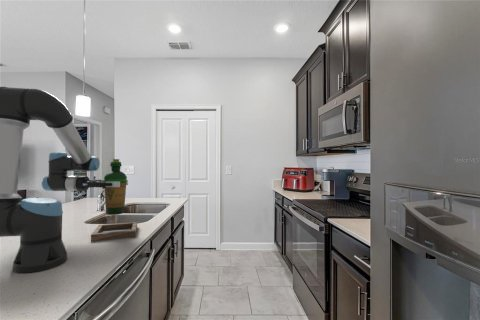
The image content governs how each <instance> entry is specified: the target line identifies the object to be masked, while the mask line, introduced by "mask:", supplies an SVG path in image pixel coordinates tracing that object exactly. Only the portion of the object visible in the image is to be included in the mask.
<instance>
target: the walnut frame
mask: <svg viewBox="0 0 480 320" xmlns="http://www.w3.org/2000/svg"><path fill="white" fill-rule="evenodd" d="M137 230H138V221H133V222H120V223H119V222H118V223H117V222H116V223H106V224H105V223H104V224H98V225H97V227H96V228H95V229H94V230H93V232H92V233H90V242H97V241H108V240H117V239H119V240H120V239H129V238H131V239H132V238H136V236H137Z"/></svg>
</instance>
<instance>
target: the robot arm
mask: <svg viewBox="0 0 480 320" xmlns="http://www.w3.org/2000/svg"><path fill="white" fill-rule="evenodd" d="M73 120H74V117H73V115H72V113H71V111H70V110H69V109H68V107H67V106H66V105H65V103H63V102H62V101H61V100H60V99H58V98H57V97H56V96H55V95H53V94H51V93H49V92H48V91H45V90H42V89H38V88H23V87H7V86H0V238H1V237H2V238H3V237H5V238H6V237H20V238H19V240H20V241H19V243H20V244H19V248H18V250H17V253H16V255H15V258H14V260H13V262H12V271H13V272H14V273H18V274H19V273H21V274H23V273H24V274H27V273H35V272H41V271H45V270H49V269H52V268H56V267H58V266H60V265H61V264H64V263H66V261H68V252H67V249H66V247H65V244H64V241H63V237H62V236H63V214H64V213H63V212H64V211H63V204H62V202H61V200H58V199H55V198H50V197H28V198H23V197H22V196H21V195H20V194H19V193H18V187H19V185H18V184H19V176H20V169H21V168H20V167H21V156H22V149H23V148H22V147H23V142H24V141H23V140H24V130H26V129H28V128H30V122H31V121H41V122H43V123H44V124H45V125H46V126H47V127H48V128H50V129H52V130H53V131H54V133H55V135H56V136H57V137H58V139H59V141H60V142H61V143H62V145H63V146H64V148H65V150H66V151H67V152H57V151H56V152H55V151H53V152H50V153H49V154H48V175H46V176H44V177H43V178H42V181H41V187H42V189H43V190H45V191H50V192H69V191H71V193H73V192H74V191H75V192H76V191H77V192H86V191H88V190H89V188H102V189H104V190H105V186H106V187H120V182H106V183H105V182H104V179H94V178H93V179H90V177H88V176H87V175H68V172H96V171H98V170H99V169H100V164H101V163H100V159H99V157H97V156H94V155H91V154H90V151H89V150H88V148H87V147H86V144H85V142H84V141H83V139H82V138H81V135H80V133H79V132H78V130H77V128H76V126H75V125H74V122H73ZM128 185H129V180H128V179H127V181H126V186H128Z"/></svg>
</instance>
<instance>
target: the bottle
mask: <svg viewBox="0 0 480 320" xmlns="http://www.w3.org/2000/svg"><path fill="white" fill-rule="evenodd" d="M109 166H110V167H111V171H109V172H107V173H106V174H105V175H104V177H103V180H104V182H105V183H106V182H120V187H106V186H105V189H104V203H105V205H104V206H105V215H110V216H117V215H122V214H123V213H125V206H126V193H127V192H126V191H127V185H126V181H127V180H128V177H127V175H126V173H124V172H123V171H121V167H122V162H121V161H120V159H119V158H117V159H116V158H112V161H111V162H110V164H109Z"/></svg>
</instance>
